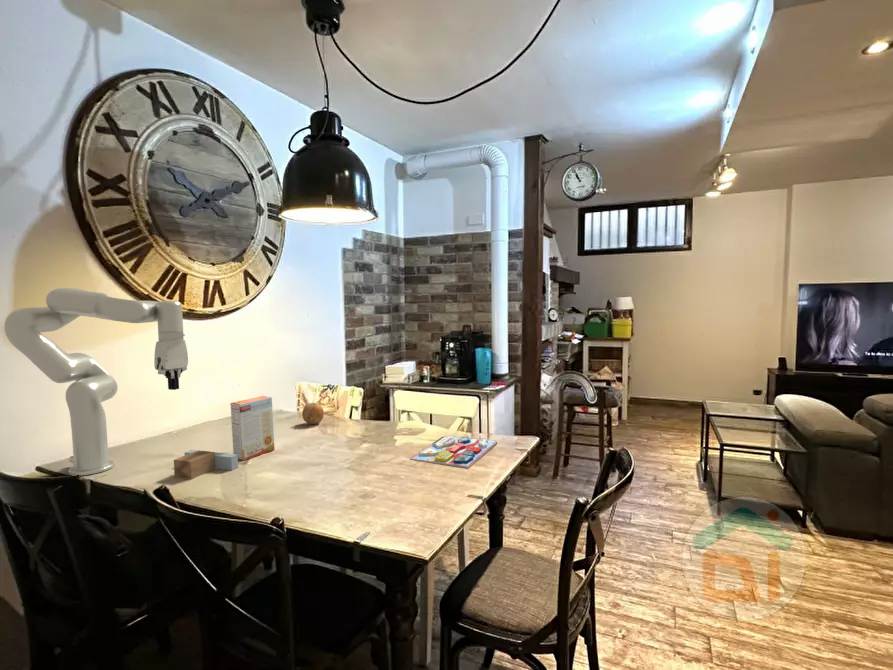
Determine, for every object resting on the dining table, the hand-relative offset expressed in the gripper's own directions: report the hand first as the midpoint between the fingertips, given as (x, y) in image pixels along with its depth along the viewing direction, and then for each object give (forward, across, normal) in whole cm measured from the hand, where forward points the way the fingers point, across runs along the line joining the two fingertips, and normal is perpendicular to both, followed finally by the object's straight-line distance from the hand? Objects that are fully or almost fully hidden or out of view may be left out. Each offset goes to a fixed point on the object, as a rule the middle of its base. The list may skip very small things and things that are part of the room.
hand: (173, 389), depth 163 cm
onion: (+27, -61, +15) cm, 68 cm away
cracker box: (+27, -17, +19) cm, 37 cm away
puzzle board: (+27, -41, +90) cm, 103 cm away
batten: (+27, -2, +13) cm, 30 cm away
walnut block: (+27, +4, +13) cm, 30 cm away
